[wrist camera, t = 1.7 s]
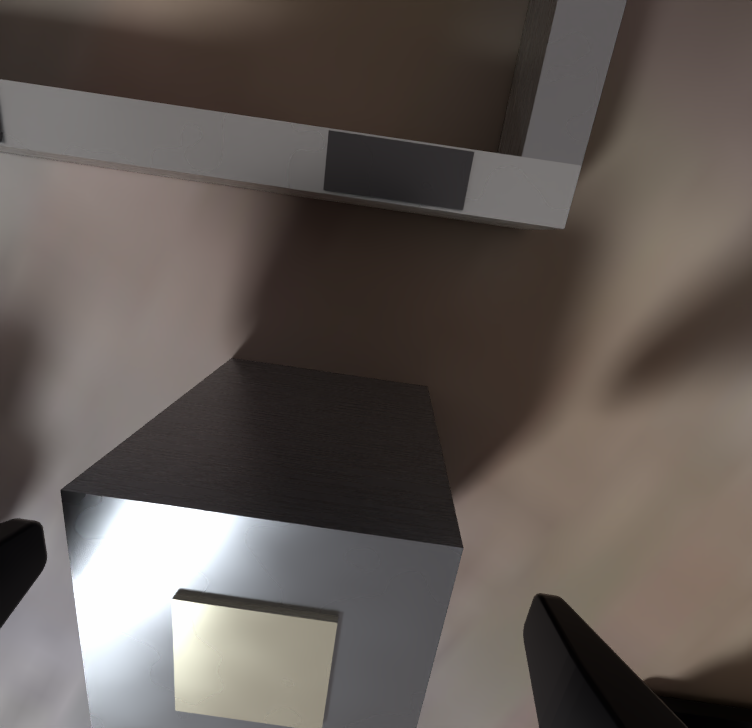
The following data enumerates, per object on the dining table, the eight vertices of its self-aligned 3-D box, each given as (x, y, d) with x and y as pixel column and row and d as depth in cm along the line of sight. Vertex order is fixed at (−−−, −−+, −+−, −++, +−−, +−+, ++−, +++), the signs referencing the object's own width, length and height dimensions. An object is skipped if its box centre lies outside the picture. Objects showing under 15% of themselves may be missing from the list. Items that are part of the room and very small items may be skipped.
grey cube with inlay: (427, 386, 10) (464, 554, 5) (396, 542, 12) (399, 801, 6) (232, 357, 10) (53, 495, 5) (228, 518, 12) (90, 756, 6)
